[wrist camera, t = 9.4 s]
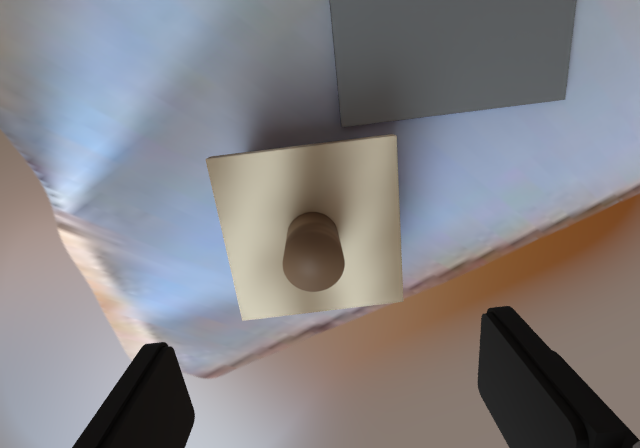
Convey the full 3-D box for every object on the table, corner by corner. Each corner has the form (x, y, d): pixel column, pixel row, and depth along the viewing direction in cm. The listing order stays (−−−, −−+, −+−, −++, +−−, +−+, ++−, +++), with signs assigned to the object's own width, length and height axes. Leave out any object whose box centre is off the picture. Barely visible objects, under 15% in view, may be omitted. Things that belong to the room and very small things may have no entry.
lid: (392, 134, 20) (417, 142, 16) (399, 293, 24) (421, 339, 19) (210, 156, 20) (181, 172, 16) (245, 312, 24) (229, 362, 19)
